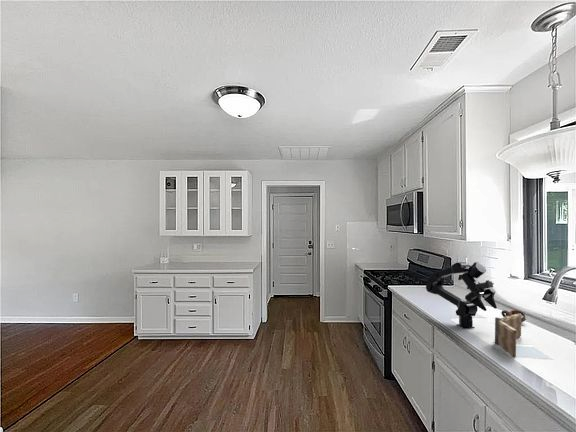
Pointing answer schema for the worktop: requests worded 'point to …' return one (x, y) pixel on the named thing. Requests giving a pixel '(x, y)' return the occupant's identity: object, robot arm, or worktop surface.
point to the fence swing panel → (514, 322)
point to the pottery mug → (513, 314)
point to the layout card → (526, 351)
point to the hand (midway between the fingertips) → (491, 309)
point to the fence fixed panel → (505, 336)
